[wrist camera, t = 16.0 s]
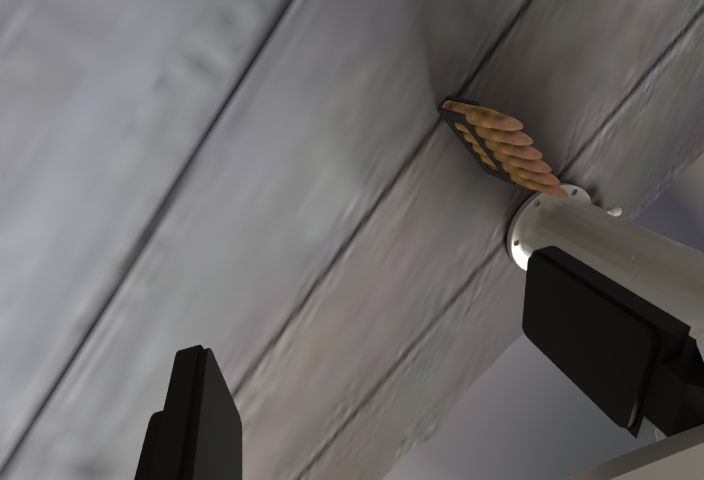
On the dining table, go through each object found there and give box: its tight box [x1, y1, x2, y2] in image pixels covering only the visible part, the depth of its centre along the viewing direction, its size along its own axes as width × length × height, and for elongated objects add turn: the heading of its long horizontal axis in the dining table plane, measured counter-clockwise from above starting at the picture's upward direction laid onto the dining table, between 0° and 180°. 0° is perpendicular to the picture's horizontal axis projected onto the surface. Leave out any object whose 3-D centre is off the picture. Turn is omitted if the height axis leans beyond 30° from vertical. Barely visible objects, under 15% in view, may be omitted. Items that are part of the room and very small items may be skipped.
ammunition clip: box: [437, 96, 568, 197], centre depth 37 cm, size 11×2×12 cm, turn 44°
